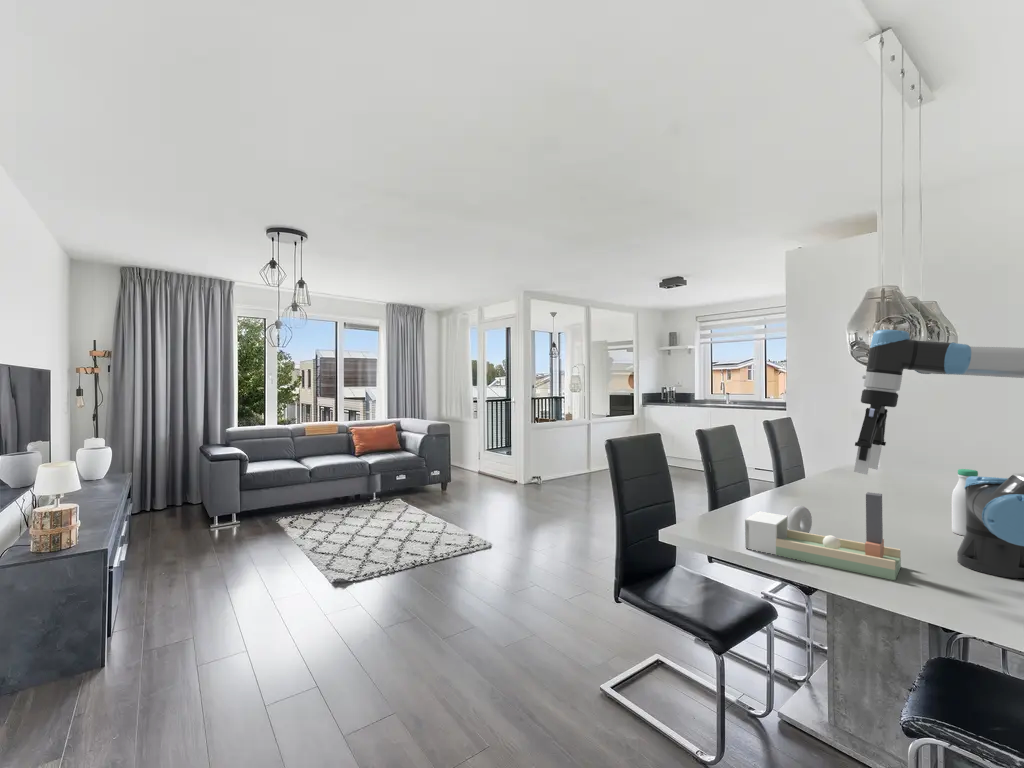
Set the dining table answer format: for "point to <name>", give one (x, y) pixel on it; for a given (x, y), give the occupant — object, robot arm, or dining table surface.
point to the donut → (800, 519)
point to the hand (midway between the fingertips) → (866, 470)
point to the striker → (874, 525)
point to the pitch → (816, 547)
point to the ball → (831, 542)
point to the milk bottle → (960, 502)
